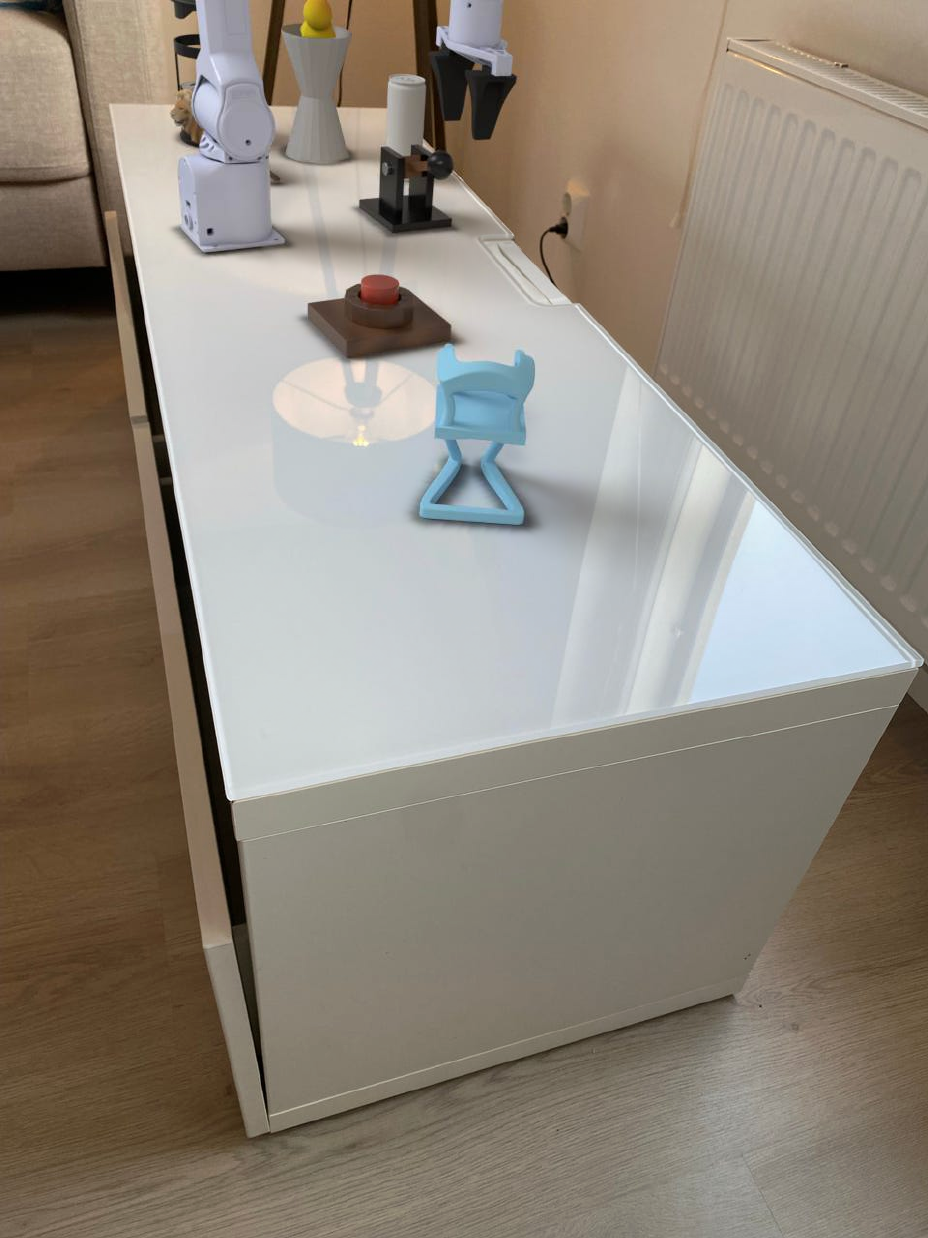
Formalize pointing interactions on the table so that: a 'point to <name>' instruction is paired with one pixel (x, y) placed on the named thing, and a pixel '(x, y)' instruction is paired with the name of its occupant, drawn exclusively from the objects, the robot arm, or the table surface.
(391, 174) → the bracket
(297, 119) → the grey hourglass vase
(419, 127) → the beverage can
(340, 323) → the button block
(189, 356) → the table surface
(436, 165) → the lever
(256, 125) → the robot arm
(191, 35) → the french press
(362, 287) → the button
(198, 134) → the lion figurine
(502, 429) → the chair
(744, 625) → the table surface
